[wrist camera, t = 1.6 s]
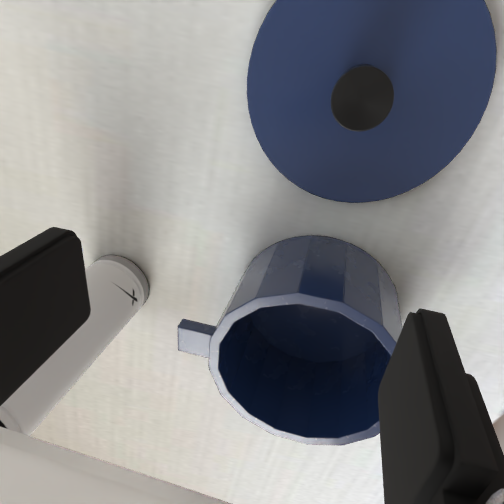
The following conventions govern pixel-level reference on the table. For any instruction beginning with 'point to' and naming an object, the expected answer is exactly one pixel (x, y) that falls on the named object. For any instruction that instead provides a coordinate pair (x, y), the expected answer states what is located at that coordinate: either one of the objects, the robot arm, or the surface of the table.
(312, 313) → the pot
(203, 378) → the table surface
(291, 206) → the table surface
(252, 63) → the lid
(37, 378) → the travel mug
